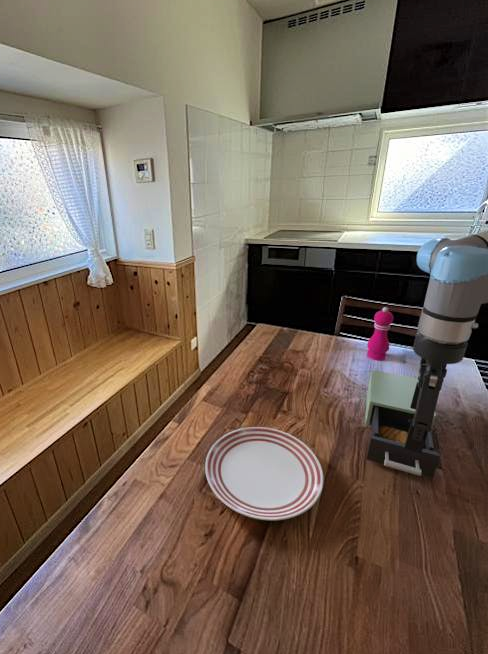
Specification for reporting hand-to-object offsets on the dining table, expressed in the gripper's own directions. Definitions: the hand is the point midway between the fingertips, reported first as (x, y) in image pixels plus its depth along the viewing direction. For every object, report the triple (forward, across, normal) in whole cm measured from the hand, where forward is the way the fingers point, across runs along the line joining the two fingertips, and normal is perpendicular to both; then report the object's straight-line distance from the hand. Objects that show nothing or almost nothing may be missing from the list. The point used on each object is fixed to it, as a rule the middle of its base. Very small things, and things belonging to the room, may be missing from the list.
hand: (415, 428), depth 68 cm
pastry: (+16, +12, +1) cm, 20 cm away
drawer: (+17, +11, +1) cm, 20 cm away
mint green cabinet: (+18, +27, +3) cm, 33 cm away
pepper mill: (+18, +60, +13) cm, 64 cm away
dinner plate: (+18, -12, +27) cm, 35 cm away
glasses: (+18, +27, +42) cm, 53 cm away
